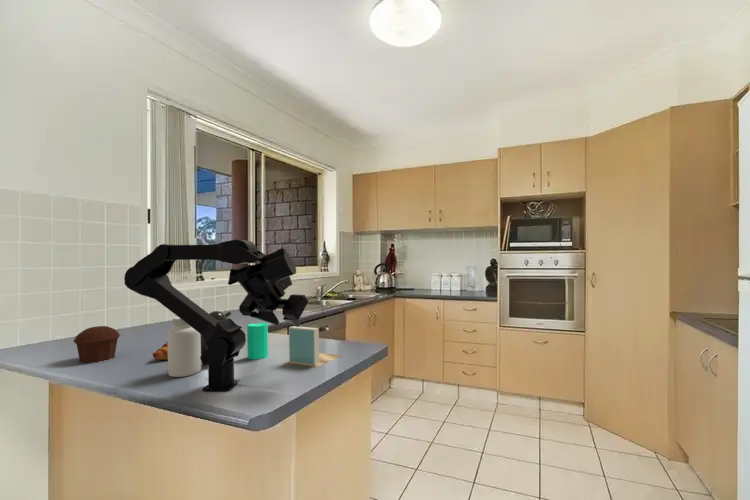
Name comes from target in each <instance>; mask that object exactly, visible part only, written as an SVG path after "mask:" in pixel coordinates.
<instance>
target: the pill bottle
mask: <svg viewBox="0 0 750 500" xmlns="http://www.w3.org/2000/svg"><path fill="white" fill-rule="evenodd" d="M167 341H168V360H167V372H168V376H170V377H172V378H183V377H190V376H193V375H195V374H199V373H200V372H201V370H202V362H201V359H200V356H201V337H200V333H199V332H197V331H196V330H195V329H193V328H192V327H191V326H190V325H188V324H187V323H186V322H184V321H183V320H182V319H180V318H179V317H178V316H176V317H173V318H172V328H171V329H169V330H168V332H167Z"/></svg>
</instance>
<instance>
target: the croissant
mask: <svg viewBox="0 0 750 500" xmlns="http://www.w3.org/2000/svg"><path fill="white" fill-rule="evenodd" d="M152 357H153V358H155V359H157V360H165V361H166V360H167V361H168V340H167V341H166V343H164V344H163V345H161V347H159V348H158V349H156V351H155V352H153V353H152Z"/></svg>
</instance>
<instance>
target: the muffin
mask: <svg viewBox="0 0 750 500" xmlns="http://www.w3.org/2000/svg"><path fill="white" fill-rule="evenodd" d="M120 336H121V334H120V333H119V331H118V330H117V329H115V328H113V327H111V326H106V325H97V326H91V327H87V328H85V329H84V330H82V331H81V332H79V333H78V334H77V335H76V336H75V337H74V340H73V343H74V344H76V347H77V352H78V359H79V363H80V362H84V363H83V364H91V363H90V362H95V363H100V362H99V361H102V362H105V361H104V360H106V361H109V359H110V360H112V359H115V355H116V350H117V344H118V339H119V338H120ZM111 358H112V359H111Z"/></svg>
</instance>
